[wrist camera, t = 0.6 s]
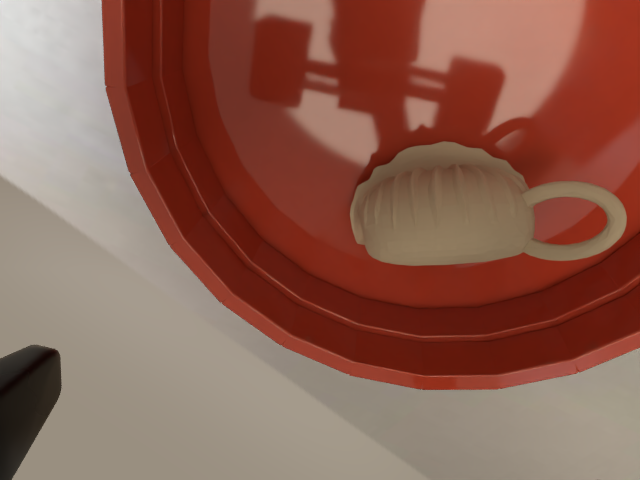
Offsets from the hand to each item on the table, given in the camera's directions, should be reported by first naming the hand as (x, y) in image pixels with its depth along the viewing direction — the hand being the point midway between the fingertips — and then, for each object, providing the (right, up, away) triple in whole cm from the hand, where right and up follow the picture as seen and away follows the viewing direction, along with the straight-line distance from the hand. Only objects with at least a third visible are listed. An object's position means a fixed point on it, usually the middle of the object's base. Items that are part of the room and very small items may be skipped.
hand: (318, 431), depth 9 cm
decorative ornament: (+5, +5, +12) cm, 14 cm away
